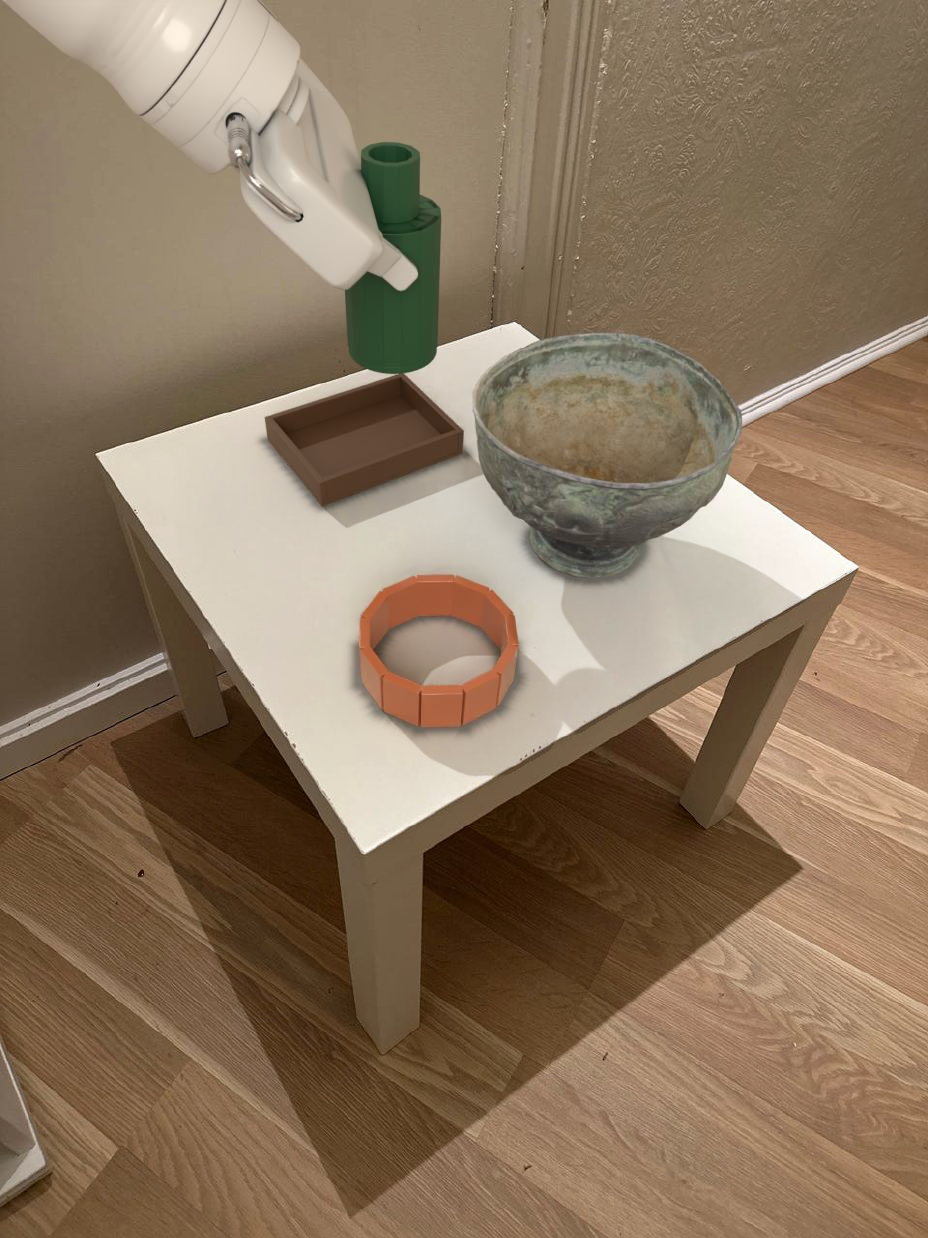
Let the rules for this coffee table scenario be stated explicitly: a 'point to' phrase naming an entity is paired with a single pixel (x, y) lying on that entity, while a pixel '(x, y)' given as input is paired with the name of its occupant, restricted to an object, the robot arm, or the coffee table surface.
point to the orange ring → (437, 600)
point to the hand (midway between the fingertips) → (400, 248)
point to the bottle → (375, 311)
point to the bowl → (602, 444)
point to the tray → (363, 437)
